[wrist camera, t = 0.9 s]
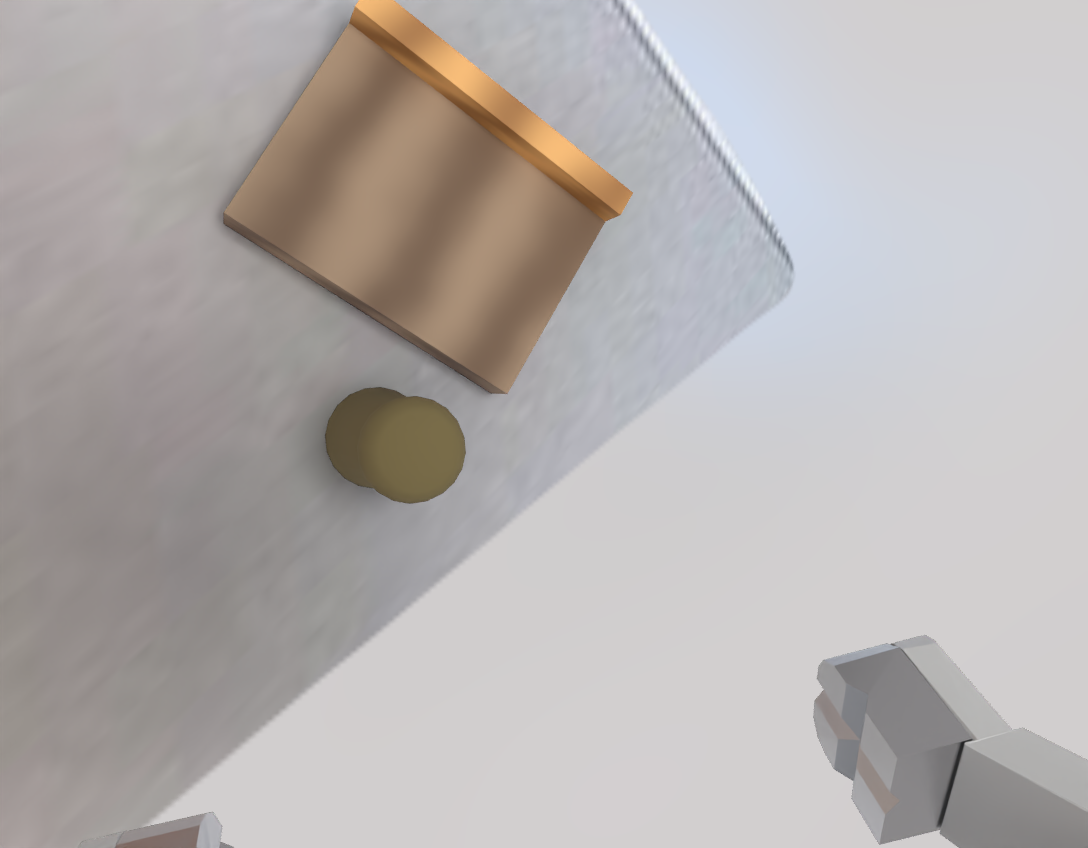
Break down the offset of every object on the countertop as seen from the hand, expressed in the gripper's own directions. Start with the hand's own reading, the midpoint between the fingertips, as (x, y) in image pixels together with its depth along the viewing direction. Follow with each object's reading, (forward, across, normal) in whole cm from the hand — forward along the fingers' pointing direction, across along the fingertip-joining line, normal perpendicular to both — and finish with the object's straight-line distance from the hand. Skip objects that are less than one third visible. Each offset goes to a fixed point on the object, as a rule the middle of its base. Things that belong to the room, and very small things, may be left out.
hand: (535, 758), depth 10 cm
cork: (+35, +4, +15) cm, 38 cm away
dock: (+41, -1, +4) cm, 41 cm away
